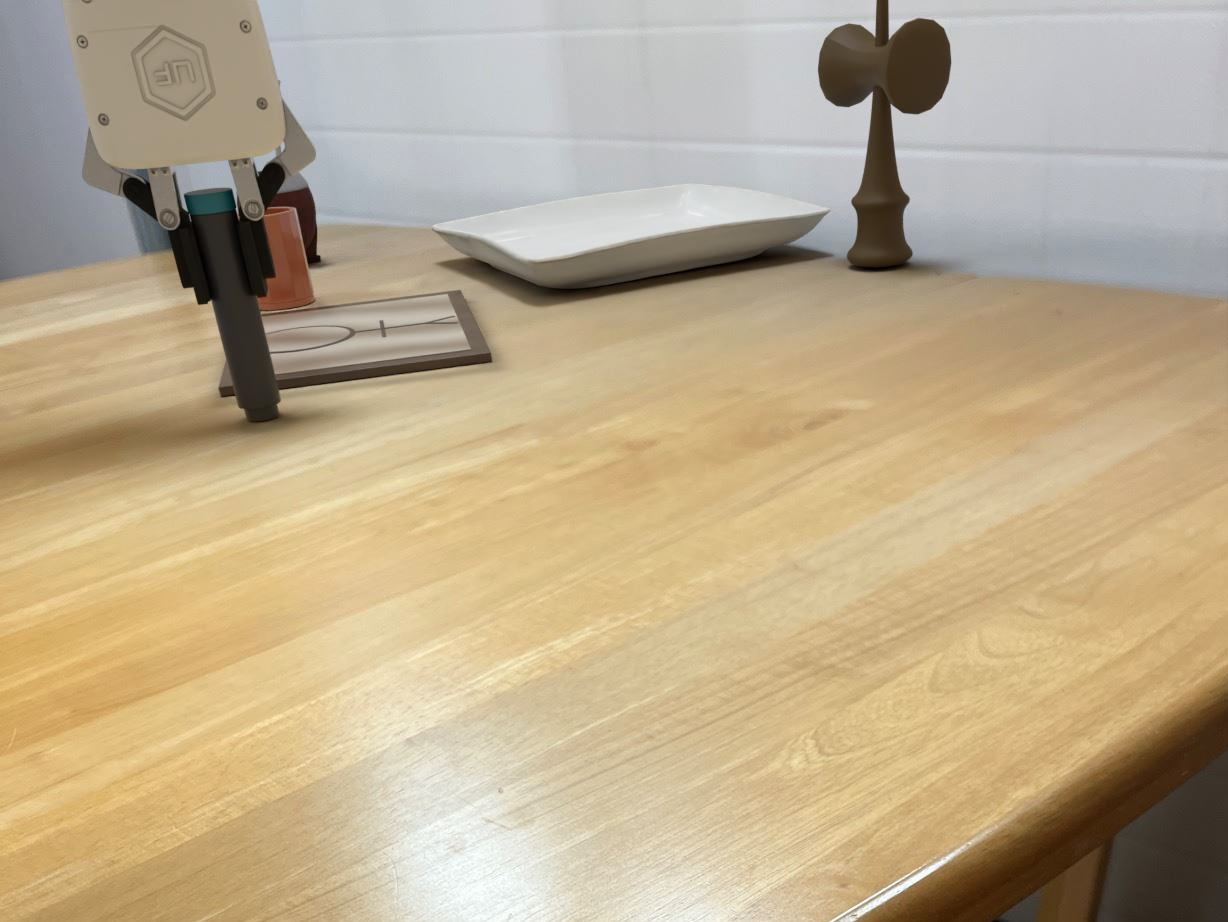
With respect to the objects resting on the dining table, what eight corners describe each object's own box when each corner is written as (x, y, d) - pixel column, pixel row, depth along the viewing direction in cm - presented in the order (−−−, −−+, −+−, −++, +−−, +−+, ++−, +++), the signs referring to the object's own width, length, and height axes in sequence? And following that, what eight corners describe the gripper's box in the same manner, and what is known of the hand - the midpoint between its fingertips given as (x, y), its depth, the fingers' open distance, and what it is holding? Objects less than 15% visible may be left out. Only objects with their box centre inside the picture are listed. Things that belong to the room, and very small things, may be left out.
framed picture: (492, 361, 91) (490, 350, 90) (220, 396, 88) (217, 385, 88) (461, 297, 110) (460, 288, 110) (238, 324, 108) (236, 315, 107)
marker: (257, 425, 82) (201, 195, 74) (232, 420, 83) (173, 194, 76) (294, 414, 83) (241, 187, 76) (268, 409, 85) (214, 186, 78)
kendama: (887, 279, 103) (891, -37, 92) (813, 264, 110) (809, -31, 99) (947, 266, 106) (959, -44, 94) (872, 252, 113) (874, -38, 101)
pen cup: (277, 312, 111) (256, 218, 107) (241, 307, 114) (219, 216, 110) (327, 299, 114) (308, 207, 110) (290, 295, 117) (270, 205, 113)
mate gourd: (263, 276, 126) (220, 90, 118) (242, 266, 132) (200, 88, 123) (339, 263, 129) (303, 81, 120) (315, 254, 135) (279, 79, 126)
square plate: (694, 220, 134) (691, 177, 131) (836, 255, 113) (836, 203, 111) (433, 262, 125) (426, 216, 123) (536, 307, 104) (529, 253, 102)
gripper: (-43, -80, 65) (82, 327, 75) (298, -107, 67) (373, 292, 77) (-10, -73, 71) (101, 302, 81) (300, -99, 73) (370, 270, 83)
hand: (233, 294), depth 79 cm, fingers closed on marker, 2 cm apart
